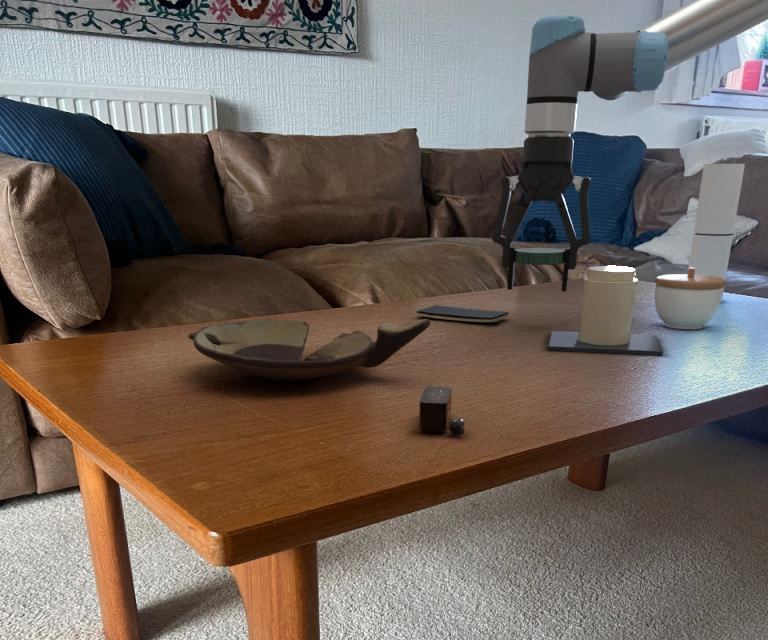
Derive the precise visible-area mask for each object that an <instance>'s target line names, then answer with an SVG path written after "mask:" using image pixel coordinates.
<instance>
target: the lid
mask: <svg viewBox="0 0 768 640" xmlns="http://www.w3.org/2000/svg"><path fill="white" fill-rule="evenodd" d="M564 259H565V249H562V248H552V247H523V248H522V247H521V248H516V250H515V255H514V262H515V264H516V263H517V264H521V265H534V266H553V265H562V264H564Z"/></svg>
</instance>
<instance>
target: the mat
mask: <svg viewBox="0 0 768 640" xmlns="http://www.w3.org/2000/svg"><path fill="white" fill-rule="evenodd" d="M578 333H579V331H564V330H563V331H561V330H552V331H551V333H550V338H549V344H548V346H547V347H548V348H547V350H548V351H557V352H577V353H578V352H579V353H581V352H582V353H599V354H600V353H601V354H619V355H639V356H640V355H643V356H663V355H664V354H663V353H664V350H663V348H662V346H661V343H660V340H659V337H658V335H657V334H637V333H636V334H635V333H631V337H630V342H629V343H628V344H624V345H615V346H604V345H593V344H587V343H583V342H581V341H579V340H578Z"/></svg>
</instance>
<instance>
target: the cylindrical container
mask: <svg viewBox="0 0 768 640" xmlns="http://www.w3.org/2000/svg"><path fill="white" fill-rule="evenodd" d="M745 166H746V163H703V169H702V175H701V182H700V188H699V194H698V201H697V209H696V214H695V221H694V229H693V234H692V235H693V236H692V242H691V248H690V249H691V250H690V255H689V261H688V269H687V271H688V270H689V268H695V274H694V275H705V276H714V277H719V278H722V279H724V280H725V281H726V278H727V273H728V266H729V262H730V261H729V260H730V254H731V250H732V249H731V248H732V243H733V237H734V231H735V226H736V219H737V213H738V208H739V203H740V196H741V190H742V185H743V178H744V173H745V172H744V171H745ZM724 290H725V287H724V288H723V292H725V291H724ZM723 297H724V293H723V294H722V299H721V302H720V303H722V302H723Z"/></svg>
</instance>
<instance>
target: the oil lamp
mask: <svg viewBox="0 0 768 640" xmlns="http://www.w3.org/2000/svg"><path fill="white" fill-rule="evenodd" d="M430 326H431V320H430V319H428V318H424V319H421V320H418V321H416V322H413V323H411V324H409V325H405V326H396V325H394V324H391V323H389V322H381V323H380V324H379V325H378V326H377V330H376V333H377V334H376V341H374V340H373V338H371V337H370V336H369V335H368V334H366V333H364V332H363V331H361V330H354V331H353V332H351V333H347V332H343V333H341V334H339V335H338V336H337V337H334V338H333V339H332V340H331V341H329V342H327V343H325V344H324V345H322V347H320V348H318V349H317V350H314V351H313V352H312V353H310V354H308V355H307V356H305V358H304V360H301V359H302V357H303V353H304V351H305V349H306V344H307V341H308V337H309V332H310V324H309V323H308V322H307V321H301V320H300V321H298V320H293V319H292V320H289V319H271V318H268V319H262V318H261V319H249V320H244V321H240V322H232V323H230V322H227V323H226V322H225V323H222V324H217V325H208V326H203V327H202V328H201V329H200V330H199V329H198V331H195V332H191V333H189V334H188V339H190V340H191V341H192V342H193V345H194V348H195V349H196V350H197V351H198V352H199V353H200V354H202V355H203V356H205V357H207V358H208V359H209V358H210V359H211V360H214V361H216V362H218V363H220V364H223V365H224V366H225V365H226V366H227V367H230V368H232V369H235V370H238V371H240V372H243V373H246V374H249V375H252V376H256V377H259V378H264V379H268V380H273V381H275V380H276V381H283V382H284V381H285V382H286V381H288V382H293V381H304V380H312V379H313V380H314V379H317V378H321V377H325V376H330V375H334V374H336V373H340V372H342V371H346V370H348V369H352V368H359V367H360V368H369V369H371V368H376V367H378V366H380V365H382V364H384V363H385V362H386V361H387V360H389V359H390V358H391V357H392V356H394V355H395V354H396V353H397V352H398V351H399V350H401V349H402V348H403V347H405V346H406V345H408V344H410V342H412V341H413V340H414V339H416V338H417V337H418V336H420V335H421V334H422V333H424V332H425V331H426V330H427V329H428V328H429V327H430Z"/></svg>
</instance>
